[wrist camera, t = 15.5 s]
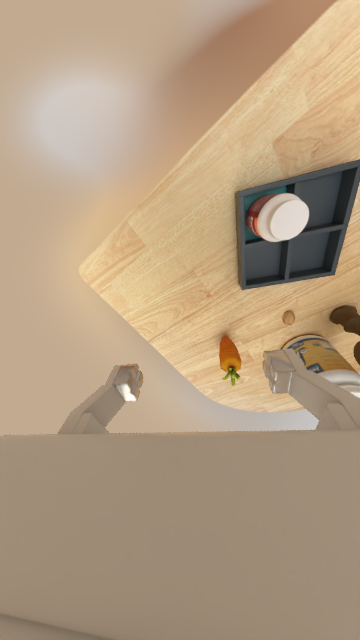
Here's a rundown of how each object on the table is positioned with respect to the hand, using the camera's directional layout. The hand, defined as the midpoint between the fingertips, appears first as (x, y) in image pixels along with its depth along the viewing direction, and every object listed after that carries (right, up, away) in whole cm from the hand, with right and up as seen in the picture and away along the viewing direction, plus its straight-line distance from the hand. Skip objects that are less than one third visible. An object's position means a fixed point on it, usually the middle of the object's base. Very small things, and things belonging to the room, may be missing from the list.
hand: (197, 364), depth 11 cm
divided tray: (+19, +20, +23) cm, 35 cm away
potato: (+26, +4, +33) cm, 42 cm away
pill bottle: (+14, +22, +21) cm, 33 cm away
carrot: (+12, -2, +38) cm, 40 cm away
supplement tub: (+34, -5, +38) cm, 51 cm away
